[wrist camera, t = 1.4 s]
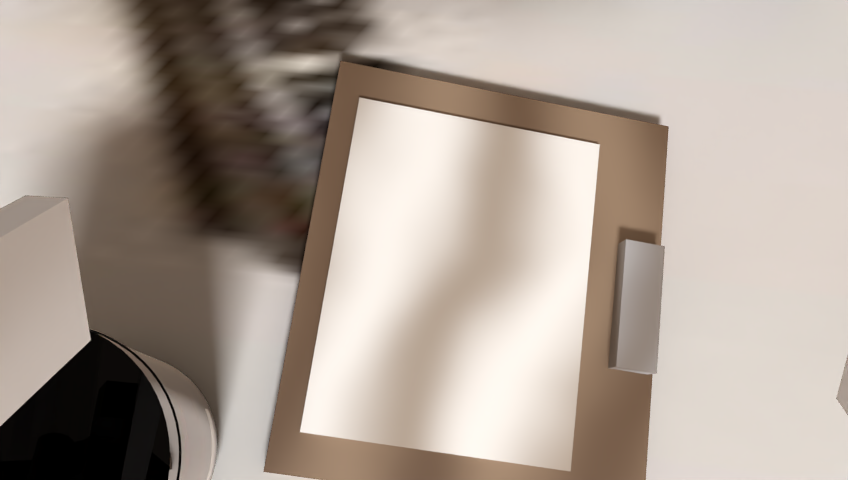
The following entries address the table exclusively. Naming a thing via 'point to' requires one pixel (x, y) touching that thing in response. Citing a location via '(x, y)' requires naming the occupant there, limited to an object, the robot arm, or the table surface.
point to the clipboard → (474, 290)
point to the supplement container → (111, 422)
